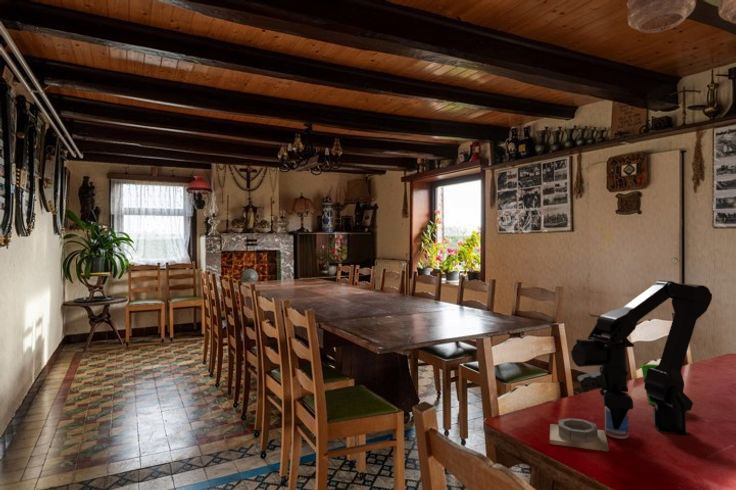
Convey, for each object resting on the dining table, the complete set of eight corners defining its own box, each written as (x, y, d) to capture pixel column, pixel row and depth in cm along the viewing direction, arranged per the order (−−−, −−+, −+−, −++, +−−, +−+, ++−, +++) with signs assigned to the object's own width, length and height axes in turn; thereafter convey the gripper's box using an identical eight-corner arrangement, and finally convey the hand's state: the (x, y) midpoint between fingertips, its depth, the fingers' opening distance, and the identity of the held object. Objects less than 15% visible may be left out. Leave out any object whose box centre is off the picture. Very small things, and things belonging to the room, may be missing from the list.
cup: (643, 406, 141) (642, 370, 141) (638, 397, 149) (638, 363, 149) (678, 410, 138) (678, 372, 138) (671, 400, 146) (671, 365, 146)
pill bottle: (632, 440, 117) (631, 401, 117) (609, 438, 118) (608, 399, 118) (624, 431, 122) (624, 394, 122) (602, 430, 123) (601, 393, 123)
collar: (604, 434, 121) (604, 420, 121) (608, 451, 111) (608, 436, 111) (550, 427, 126) (550, 414, 126) (549, 443, 115) (549, 429, 115)
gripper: (577, 354, 132) (578, 409, 132) (581, 370, 115) (582, 434, 115) (622, 357, 128) (623, 414, 128) (632, 374, 111) (634, 440, 110)
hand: (614, 425), depth 120 cm, fingers closed on pill bottle, 5 cm apart
